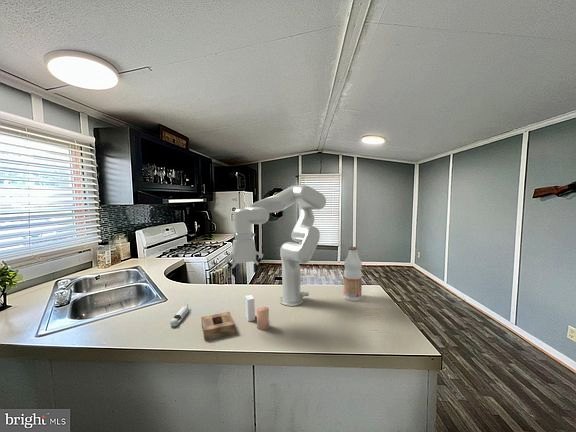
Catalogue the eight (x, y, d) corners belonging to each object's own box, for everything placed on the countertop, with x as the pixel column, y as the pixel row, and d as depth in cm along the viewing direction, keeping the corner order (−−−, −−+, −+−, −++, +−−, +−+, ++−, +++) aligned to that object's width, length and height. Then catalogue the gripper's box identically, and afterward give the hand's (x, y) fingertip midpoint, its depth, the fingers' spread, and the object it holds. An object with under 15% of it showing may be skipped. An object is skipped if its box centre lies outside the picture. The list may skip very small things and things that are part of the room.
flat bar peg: (251, 315, 120) (251, 294, 119) (254, 320, 115) (254, 298, 115) (245, 316, 119) (245, 295, 118) (248, 321, 114) (247, 299, 113)
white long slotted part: (179, 328, 109) (178, 313, 109) (167, 328, 109) (167, 313, 109) (193, 309, 127) (192, 296, 127) (183, 309, 127) (182, 296, 127)
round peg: (266, 323, 113) (266, 305, 112) (270, 328, 108) (270, 310, 107) (255, 325, 111) (255, 307, 110) (259, 331, 106) (258, 312, 105)
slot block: (229, 320, 115) (229, 311, 115) (235, 333, 104) (234, 323, 104) (201, 325, 111) (201, 317, 110) (204, 340, 100) (204, 330, 99)
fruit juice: (348, 302, 133) (349, 249, 131) (340, 295, 143) (341, 246, 140) (364, 300, 135) (365, 248, 133) (356, 294, 145) (357, 245, 142)
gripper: (259, 233, 119) (261, 269, 121) (222, 237, 112) (224, 274, 114) (264, 236, 112) (266, 274, 114) (225, 240, 105) (227, 280, 107)
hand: (245, 274), depth 114 cm, fingers open, 9 cm apart
